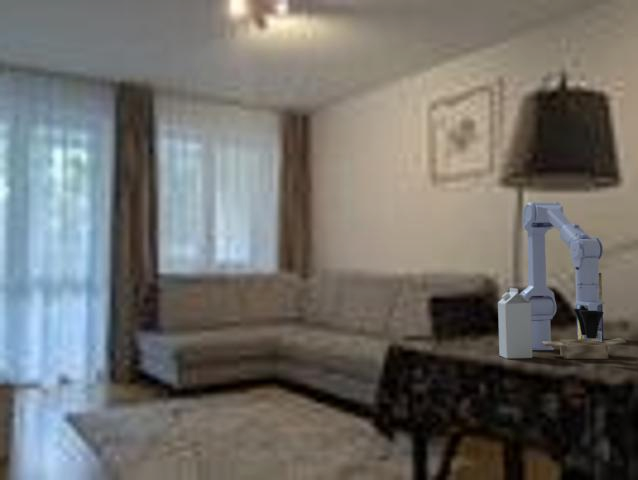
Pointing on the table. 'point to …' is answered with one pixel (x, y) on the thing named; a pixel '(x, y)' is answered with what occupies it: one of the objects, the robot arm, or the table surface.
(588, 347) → the carton
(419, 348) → the table surface
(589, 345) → the flap
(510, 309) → the milk carton
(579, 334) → the beverage box
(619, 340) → the flap
